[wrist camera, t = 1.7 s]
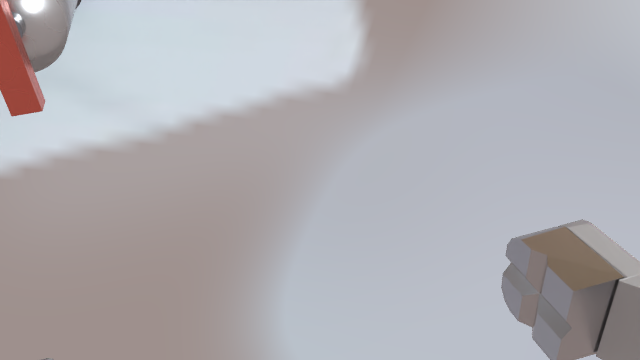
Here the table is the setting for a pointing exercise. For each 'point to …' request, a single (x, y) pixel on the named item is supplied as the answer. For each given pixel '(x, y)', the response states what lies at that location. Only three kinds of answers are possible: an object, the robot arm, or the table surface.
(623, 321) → the robot arm
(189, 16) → the table surface
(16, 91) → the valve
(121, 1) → the table surface
